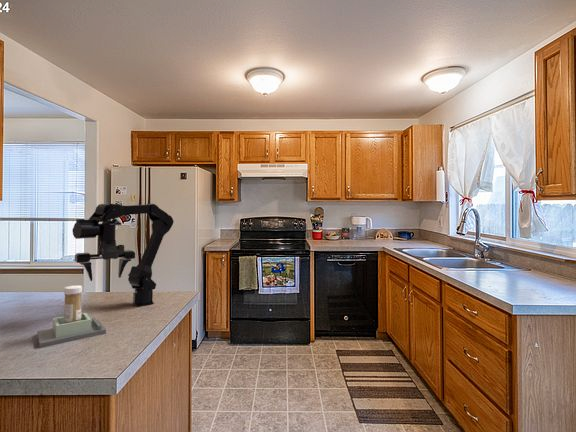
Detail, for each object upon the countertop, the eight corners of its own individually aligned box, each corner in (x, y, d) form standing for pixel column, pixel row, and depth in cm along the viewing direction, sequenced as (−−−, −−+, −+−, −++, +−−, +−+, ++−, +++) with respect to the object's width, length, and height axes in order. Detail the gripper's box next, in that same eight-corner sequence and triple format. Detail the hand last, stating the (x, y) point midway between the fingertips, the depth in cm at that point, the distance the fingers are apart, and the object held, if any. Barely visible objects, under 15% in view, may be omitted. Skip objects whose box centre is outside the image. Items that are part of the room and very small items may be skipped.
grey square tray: (97, 323, 103) (98, 309, 103) (106, 333, 94) (106, 318, 94) (37, 334, 92) (37, 319, 92) (39, 347, 83) (40, 330, 83)
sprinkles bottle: (83, 329, 94) (84, 286, 94) (66, 334, 90) (67, 289, 90) (77, 326, 96) (78, 284, 96) (60, 330, 93) (61, 286, 93)
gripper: (80, 239, 100) (79, 286, 100) (140, 237, 113) (139, 279, 113) (74, 237, 108) (74, 281, 108) (131, 236, 121) (130, 275, 121)
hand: (105, 279), depth 112 cm, fingers open, 9 cm apart
